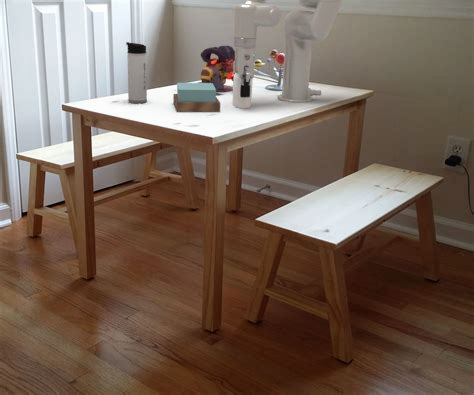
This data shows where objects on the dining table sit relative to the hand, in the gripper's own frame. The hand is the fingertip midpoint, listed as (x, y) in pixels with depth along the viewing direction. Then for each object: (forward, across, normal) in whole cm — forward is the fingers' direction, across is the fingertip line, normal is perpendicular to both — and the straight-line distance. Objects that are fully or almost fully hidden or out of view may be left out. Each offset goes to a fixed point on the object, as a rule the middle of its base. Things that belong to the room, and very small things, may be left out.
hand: (242, 94), depth 214 cm
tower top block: (+1, -2, +16) cm, 16 cm away
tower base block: (+5, -2, +16) cm, 17 cm away
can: (+5, 0, 0) cm, 5 cm away
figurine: (+5, +29, +4) cm, 30 cm away
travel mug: (+5, +8, +35) cm, 36 cm away
